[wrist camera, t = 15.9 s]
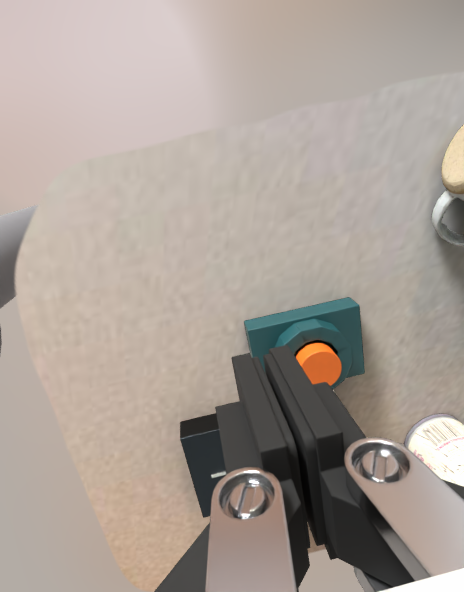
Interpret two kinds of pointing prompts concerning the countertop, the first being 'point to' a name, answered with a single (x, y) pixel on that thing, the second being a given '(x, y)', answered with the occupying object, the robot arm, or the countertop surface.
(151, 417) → the countertop surface
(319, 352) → the button
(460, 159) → the ceramic mug
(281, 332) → the button block
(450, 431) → the aerosol can
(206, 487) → the control panel
